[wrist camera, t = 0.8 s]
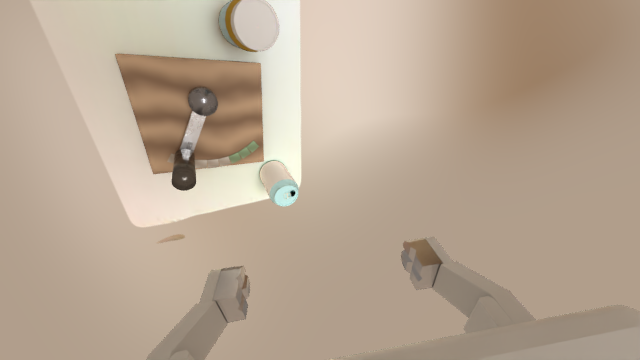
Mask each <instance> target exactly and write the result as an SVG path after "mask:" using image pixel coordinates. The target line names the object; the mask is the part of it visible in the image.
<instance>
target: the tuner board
mask: <svg viewBox="0 0 640 360" xmlns="http://www.w3.org/2000/svg"><path fill="white" fill-rule="evenodd" d="M115 55H116V59H117V62H118V65H119V68H120V71H121V74H122V77H123V80H124V83H125V87H126V90H127V93H128V96H129V99H130V102H131V105H132V108H133V112H134V115H135V118H136V121H137V124H138V127H139V130H140V133H141V136H142V140H143V143H144V146H145V149H146V152H147V155H148V158H149V161H150V165H151V168H152V171H153V174H159V173H168V172H173V163H174V155H175V152H176V151H178V150H179V148H180V145H181V142H182V139H183V136H184V133H185V130H186V127H187V124H188V121H189V118H190V115H191V112H192V109H191V108H190V106H189V103H188V95H189V93H190V91H191V90H192V89H194V88H196V87H206V88H208V89H210V90H211V91H212V92H213V93H214V94H215V96H216V98H217V101H218V108H217V110H216V112H215V113H213V114H212V115H209V116H206V118H205V121H204V124H203V126H202V129H201V132H200V135H199V138H198V141H197V143H196V146H195V149H194V152H193V153H194V156H195V169H202V168H214V167H219V166H228V165H237V164H245V163H254V162H263V161H264V156H263V124H262V92H261V64H260V63H250V62H235V61H220V60H205V59H190V58H174V57H159V56H144V55H129V54H115Z"/></svg>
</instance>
